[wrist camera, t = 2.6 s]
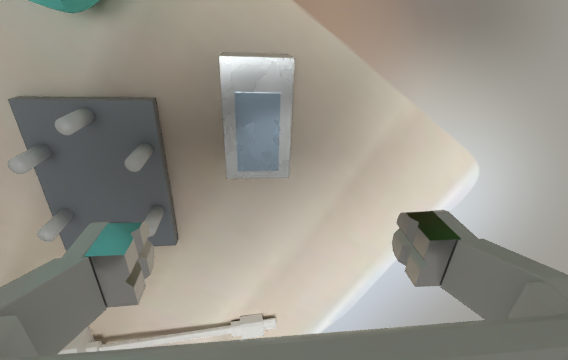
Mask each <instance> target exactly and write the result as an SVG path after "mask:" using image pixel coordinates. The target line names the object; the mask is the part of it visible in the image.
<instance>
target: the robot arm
mask: <svg viewBox="0 0 568 360" xmlns="http://www.w3.org/2000/svg"><path fill="white" fill-rule="evenodd" d="M397 225H398V226H399V229H398V230H397V231H396V232H395V233H394V235H393V240H392V246H393V252H394V254H395V257H396V258H397V260H398V261H399V262H400V263H402V264H404V265H405V266H406V268H405V272H406V274H407V275H408V277H409V278H410V280H411V281H412V283H413V284H414V286H416V287H420V286H441V288H442V289H444V290H445V291H447V292H448V293H449V294H451V295H452V296H453V297H455V298H456V299H458V300H459V301H460V302H462V303H463V304H464V305H466V306H467V307H469V308H470V309H471V310H473V311H474V312H475V313H477V314H478V315H480V316H481V317H482V318H484V319H485V320H481V321H468V322H456V323H443V324H432V325H419V326H406V327H394V328H381V329H369V330H356V331H343V332H331V333H318V334H306V335H293V336H281V337H268V338H256V339H244V340H231V341H219V342H207V343H195V344H183V345H170V346H158V347H146V348H133V349H120V350H108V351H95V352H82V353H69V354H58V353H59V352H60V351H61V350H63V349H64V348H65V347H66V346H67V345H68V344H69V343H70V342H71V341H72V340H73V339H74V338H76V337H77V336H78V335H79V334H80V333H81V332H82V331H83V330H84V329H85V328H86V327H88V326H89V325H90V324H91V323H92V322H93V321H94V320H95V319H96V318H97V317H98V316H99V315H101V314H102V313H103V312H104V311H105V310H106V307H117V306H128V305H138V304H139V302H140V299H141V297H142V294H143V292H144V289H145V287H146V285H145V281H144V279H145V278H147V277H148V276H149V275H150V274H151V271H152V269H153V264H154V248H153V244H152V243H151V242H150V241H148V240H147V238H148V236H149V234H150V230H149V226H148V223H147V222H145V221H123V222H93V223H90V224H89V225H88V226H87V227H86V229H85V230H84V231H83V232H82V233H81V235H80V236H79V237H78V238H77V240H76V241H75V242H74V243H73V244H72V246H71V247H70V248H69V249H68V250H67V252H66V253H65V254H64V255H63V257H62V258H59V259H53V260H52V261H50V262H48V263H46V264H44V265H42V266H40V267H38V268H36V269H35V270H33V271H31V272H29V273H27V274H25V275H23V276H21V277H20V278H18V279H16V280H14V281H12V282H10V283H8V284H6V285H4V286H3V287H1V288H0V360H568V275H567V274H565V273H562V272H560V271H557V270H555V269H553V268H551V267H548V266H546V265H543V264H541V263H539V262H536V261H534V260H532V259H529V258H527V257H524V256H522V255H520V254H518V253H515V252H513V251H511V250H508V249H506V248H503V247H501V246H499V245H497V244H494V243H492V242H489V241H487V240H485V239H478V238H477V237H476V236H475V235H474V234H473V233H471V232H470V231H469V230H468V229H467V228H466V227H465V226H464V225H463V224H461V223H460V222H459V221H458V220H457V219H456V218H455V217H454V216H453V215H451V214H450V213H449V212H448V211H445V210H436V211H425V212H405V213H400V215H399V216H398V219H397Z"/></svg>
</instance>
